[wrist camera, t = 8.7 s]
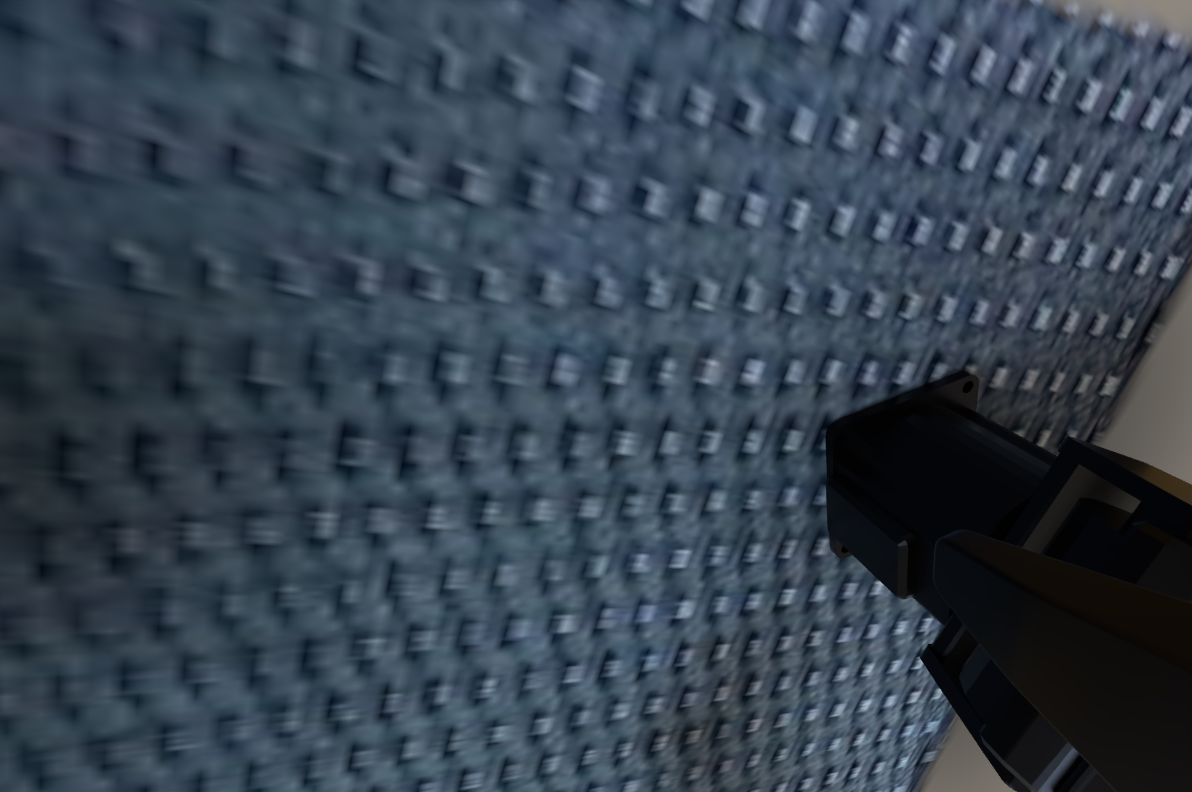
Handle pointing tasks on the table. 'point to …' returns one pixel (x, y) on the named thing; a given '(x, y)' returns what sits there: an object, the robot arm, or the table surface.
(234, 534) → the table surface
